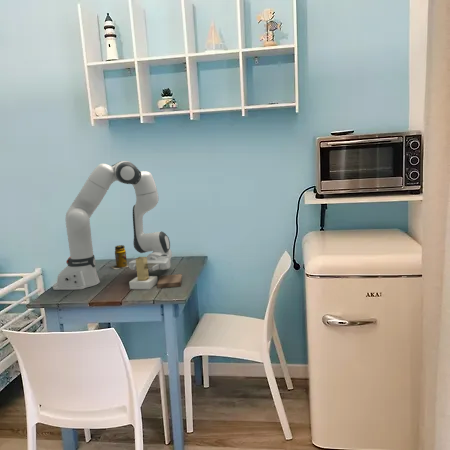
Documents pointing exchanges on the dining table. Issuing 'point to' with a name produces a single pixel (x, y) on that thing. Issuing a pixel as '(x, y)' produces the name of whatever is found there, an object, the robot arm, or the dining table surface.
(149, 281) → the socket block
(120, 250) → the condiment
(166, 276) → the board
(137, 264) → the peg
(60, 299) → the dining table surface
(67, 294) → the dining table surface
